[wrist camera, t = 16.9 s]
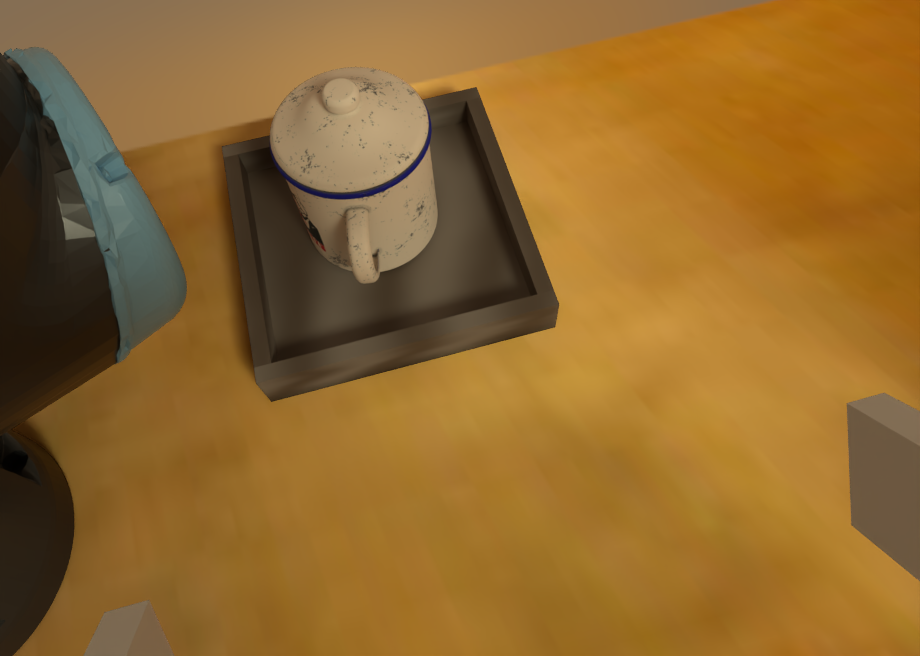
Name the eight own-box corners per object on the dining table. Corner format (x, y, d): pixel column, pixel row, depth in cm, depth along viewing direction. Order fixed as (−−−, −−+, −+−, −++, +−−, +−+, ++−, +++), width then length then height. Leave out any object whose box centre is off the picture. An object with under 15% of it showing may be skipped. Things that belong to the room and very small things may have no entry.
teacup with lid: (306, 173, 48) (255, 36, 38) (436, 160, 48) (420, 19, 38) (305, 326, 43) (244, 215, 32) (451, 311, 43) (437, 196, 32)
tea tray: (271, 401, 42) (256, 383, 39) (236, 174, 50) (221, 146, 47) (555, 327, 43) (559, 304, 41) (477, 117, 51) (476, 87, 48)
